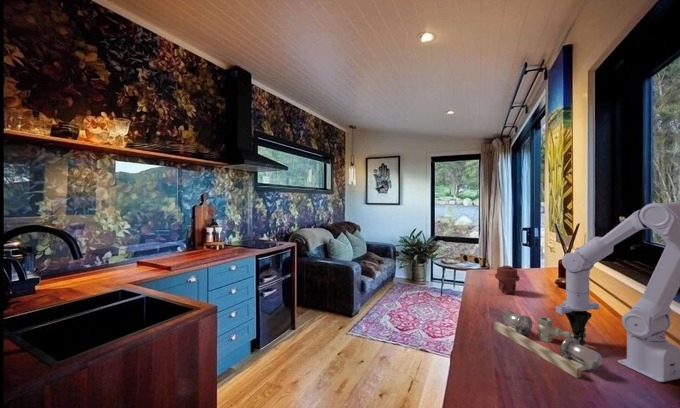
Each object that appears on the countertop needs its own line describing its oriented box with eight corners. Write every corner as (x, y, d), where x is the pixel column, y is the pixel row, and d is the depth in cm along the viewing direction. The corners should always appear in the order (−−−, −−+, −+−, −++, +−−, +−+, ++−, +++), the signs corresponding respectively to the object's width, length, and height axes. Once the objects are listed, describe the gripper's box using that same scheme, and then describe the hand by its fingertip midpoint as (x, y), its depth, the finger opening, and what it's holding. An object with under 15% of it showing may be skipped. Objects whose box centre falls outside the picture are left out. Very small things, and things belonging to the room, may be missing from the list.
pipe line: (604, 372, 79) (604, 347, 79) (586, 376, 78) (586, 351, 77) (515, 325, 107) (515, 307, 107) (501, 328, 106) (501, 309, 106)
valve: (535, 341, 96) (583, 354, 88) (535, 320, 96) (583, 331, 88) (539, 333, 101) (586, 345, 93) (539, 314, 101) (586, 324, 93)
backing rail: (581, 376, 77) (581, 367, 77) (576, 377, 77) (576, 368, 77) (497, 328, 105) (497, 321, 105) (493, 329, 105) (493, 321, 105)
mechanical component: (507, 297, 136) (490, 290, 146) (524, 294, 139) (506, 288, 149) (507, 270, 136) (490, 265, 145) (524, 267, 139) (506, 263, 148)
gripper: (583, 285, 100) (582, 325, 101) (547, 289, 97) (546, 331, 97) (606, 291, 93) (605, 335, 94) (568, 296, 90) (568, 341, 91)
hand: (577, 333), depth 95 cm, fingers closed
